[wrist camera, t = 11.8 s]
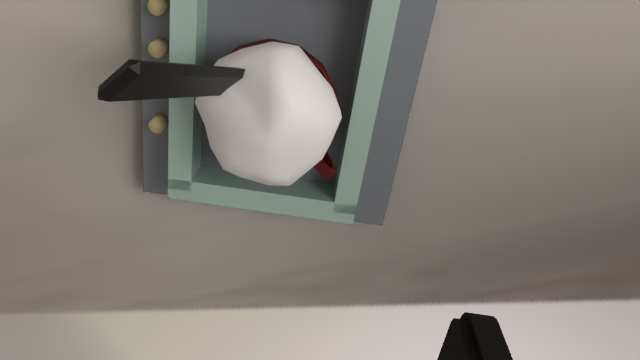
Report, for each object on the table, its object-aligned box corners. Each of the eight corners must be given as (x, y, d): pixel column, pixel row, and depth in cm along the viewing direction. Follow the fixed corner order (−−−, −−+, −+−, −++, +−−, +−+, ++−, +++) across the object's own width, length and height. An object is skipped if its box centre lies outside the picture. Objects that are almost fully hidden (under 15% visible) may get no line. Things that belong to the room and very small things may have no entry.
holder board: (445, -54, 23) (460, -52, 20) (380, 215, 30) (385, 244, 27) (148, -105, 23) (121, -110, 20) (150, 182, 29) (130, 208, 27)
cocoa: (353, 143, 27) (382, 292, 17) (245, 172, 28) (208, 332, 17) (303, -37, 23) (299, 9, 12) (176, 3, 23) (70, 79, 13)
